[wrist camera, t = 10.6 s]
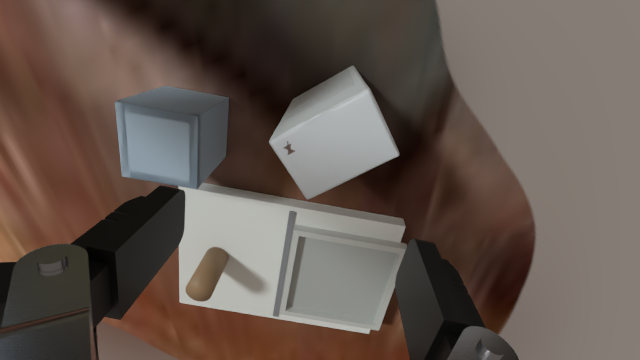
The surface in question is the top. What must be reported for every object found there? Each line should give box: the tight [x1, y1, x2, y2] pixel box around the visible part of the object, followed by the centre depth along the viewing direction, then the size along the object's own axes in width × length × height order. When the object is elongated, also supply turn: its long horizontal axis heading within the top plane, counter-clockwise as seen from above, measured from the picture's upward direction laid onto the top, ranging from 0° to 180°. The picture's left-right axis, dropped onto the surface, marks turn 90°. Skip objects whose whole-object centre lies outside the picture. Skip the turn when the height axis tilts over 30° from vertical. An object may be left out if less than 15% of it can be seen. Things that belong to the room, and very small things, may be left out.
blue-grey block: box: [115, 86, 229, 189], centre depth 26 cm, size 6×6×7 cm
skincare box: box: [269, 66, 399, 199], centre depth 22 cm, size 6×4×12 cm
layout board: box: [178, 183, 407, 334], centre depth 32 cm, size 23×15×6 cm, turn 80°
